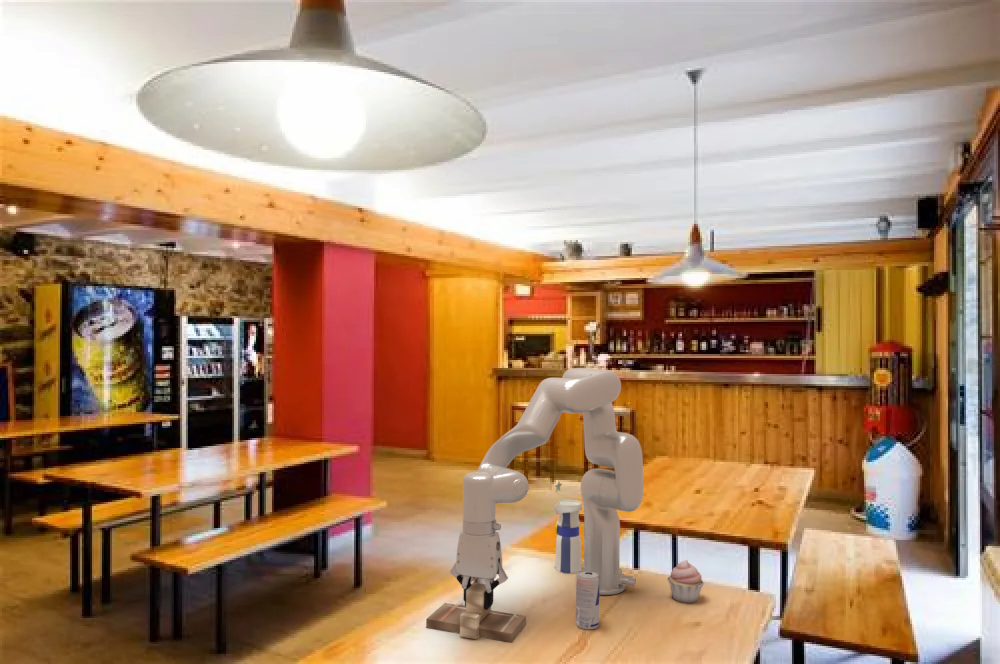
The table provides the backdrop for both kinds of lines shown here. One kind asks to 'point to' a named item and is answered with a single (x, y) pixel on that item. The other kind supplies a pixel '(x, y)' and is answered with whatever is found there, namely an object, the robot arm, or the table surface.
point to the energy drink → (587, 599)
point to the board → (489, 627)
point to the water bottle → (568, 536)
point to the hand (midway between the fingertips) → (478, 605)
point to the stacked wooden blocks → (473, 611)
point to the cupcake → (685, 582)
